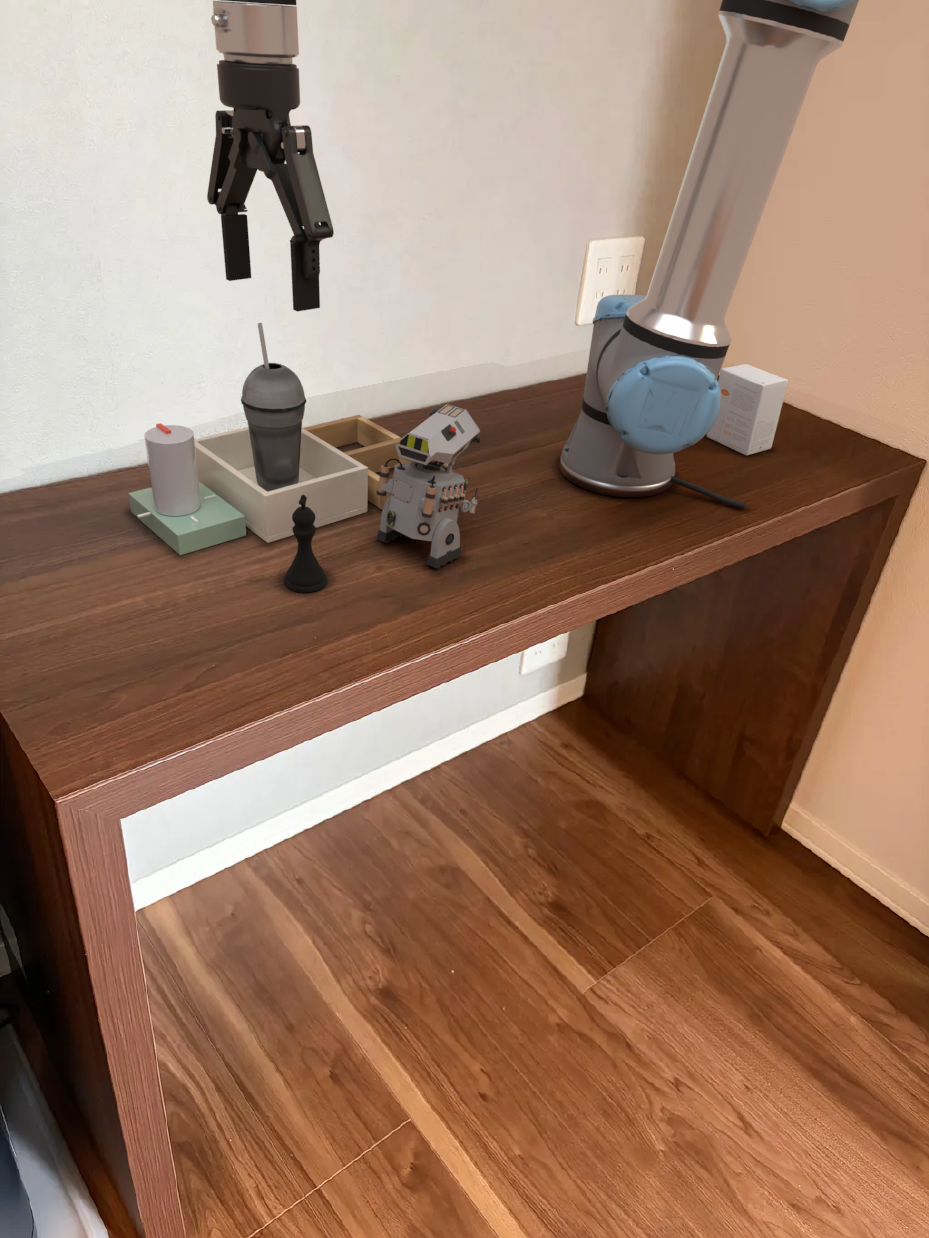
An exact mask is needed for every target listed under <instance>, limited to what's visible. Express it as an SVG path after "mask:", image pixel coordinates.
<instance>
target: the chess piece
mask: <svg viewBox="0 0 929 1238" xmlns="http://www.w3.org/2000/svg"><path fill="white" fill-rule="evenodd" d="M306 500H307V497H306V496H305V495H301V499H300V500H299V504H300V505H301V507H298V508H297V509H296V510H295V511H294V513H293V515H292V520H293V522H294V524H295V525H294V526H293V529H292V530H293V533H294V535H293V536H294V537H295V539H296V541H297V551H296V555H295V556H294V558H293V560H292V562H291V565H290V566H289V567H288V569H287V571H286V574H285V576H284V579H283V583H284V586H285V587H286V588H287V589H289V590H291V591H292V592H295V593H302V594H307V593H308V594H309V593H315V592H318V591H321V590H322V589H324V588H325V587H326V585H327V584H328V576H327V574H326V573H325V570H324V568H323V567H322V566H321V564H320V563H319V560H317V557H316V556H315V554H314V552H313V546H312V541H313V538H314V536H315V534H316V531H317V528H316V527H315V526H314V525H313V524H314V521H315V514H314V512H313V511H312V510H311V509H310V508H309V507H305V506H306Z"/></svg>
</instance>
